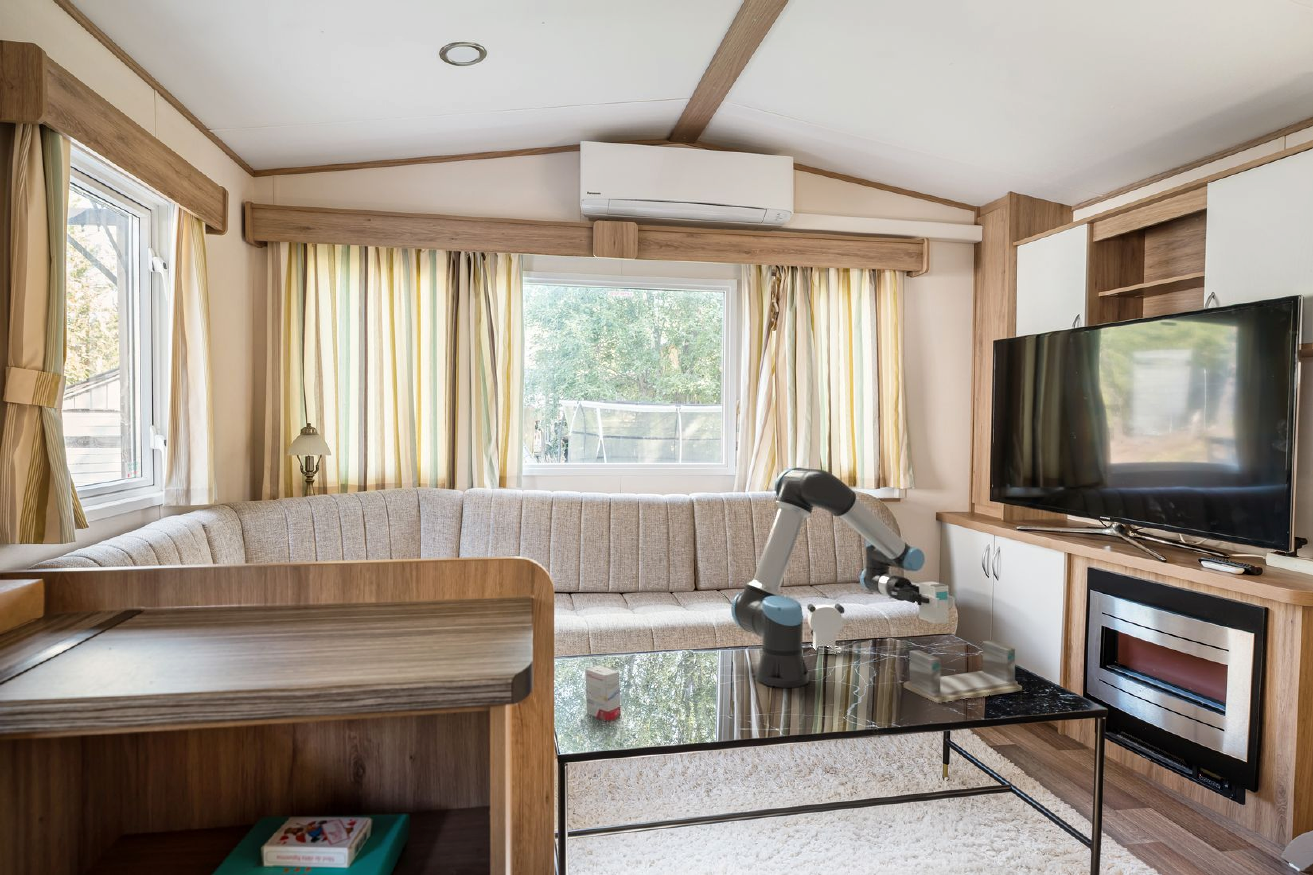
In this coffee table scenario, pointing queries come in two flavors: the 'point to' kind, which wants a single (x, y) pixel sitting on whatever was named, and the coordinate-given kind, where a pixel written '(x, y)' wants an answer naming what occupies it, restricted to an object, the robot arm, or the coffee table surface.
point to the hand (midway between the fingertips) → (945, 602)
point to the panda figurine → (825, 624)
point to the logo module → (931, 612)
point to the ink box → (603, 693)
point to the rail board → (964, 676)
